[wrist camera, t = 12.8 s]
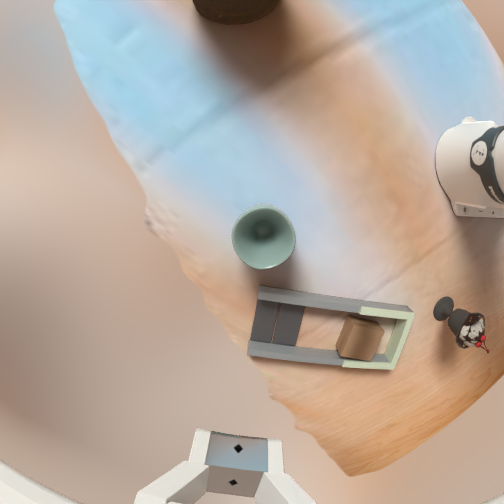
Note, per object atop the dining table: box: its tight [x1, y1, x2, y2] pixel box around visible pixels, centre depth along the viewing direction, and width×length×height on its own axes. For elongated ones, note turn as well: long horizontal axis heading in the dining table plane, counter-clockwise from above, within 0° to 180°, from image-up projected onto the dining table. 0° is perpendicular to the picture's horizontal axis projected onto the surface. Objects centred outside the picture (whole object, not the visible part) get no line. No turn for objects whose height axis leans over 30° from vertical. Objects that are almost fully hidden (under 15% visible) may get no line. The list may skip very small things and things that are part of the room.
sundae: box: [434, 297, 489, 353], centre depth 42 cm, size 7×7×15 cm
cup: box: [232, 203, 296, 270], centre depth 42 cm, size 8×8×10 cm
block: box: [336, 316, 384, 361], centre depth 49 cm, size 6×6×4 cm
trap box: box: [247, 285, 415, 370], centre depth 49 cm, size 27×11×4 cm, turn 81°
